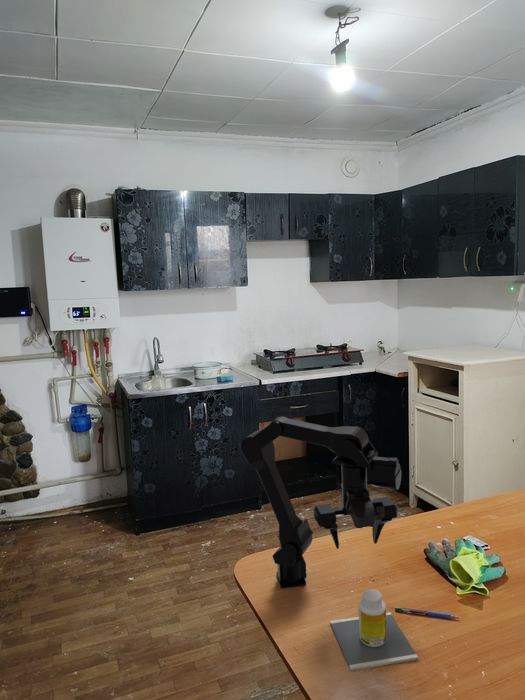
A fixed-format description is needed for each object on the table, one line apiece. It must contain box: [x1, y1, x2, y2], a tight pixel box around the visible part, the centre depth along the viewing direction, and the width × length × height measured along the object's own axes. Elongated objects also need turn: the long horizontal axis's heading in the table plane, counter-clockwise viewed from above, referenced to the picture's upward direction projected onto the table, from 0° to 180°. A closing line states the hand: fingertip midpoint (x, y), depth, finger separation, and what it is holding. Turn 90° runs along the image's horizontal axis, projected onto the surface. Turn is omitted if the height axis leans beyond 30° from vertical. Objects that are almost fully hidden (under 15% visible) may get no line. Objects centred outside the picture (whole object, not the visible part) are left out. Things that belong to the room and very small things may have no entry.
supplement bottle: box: [358, 588, 387, 647], centre depth 109 cm, size 6×6×10 cm
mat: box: [329, 611, 419, 672], centre depth 110 cm, size 14×14×1 cm
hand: (356, 545), depth 123 cm, fingers open, 9 cm apart
